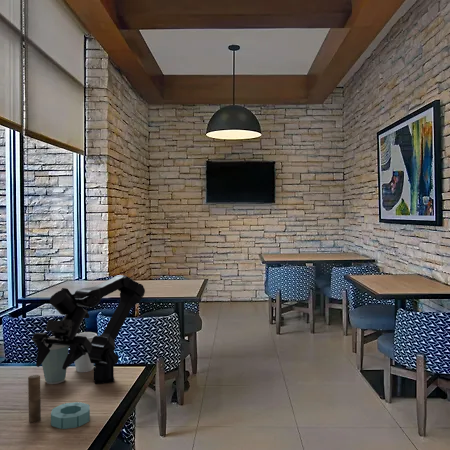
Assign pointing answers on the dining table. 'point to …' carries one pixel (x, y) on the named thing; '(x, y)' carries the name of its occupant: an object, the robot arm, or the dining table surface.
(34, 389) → the brown post
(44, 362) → the disposable coffee cup
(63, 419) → the bead
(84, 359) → the foam cup
